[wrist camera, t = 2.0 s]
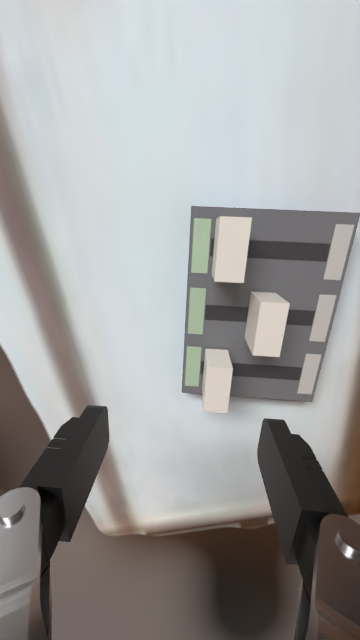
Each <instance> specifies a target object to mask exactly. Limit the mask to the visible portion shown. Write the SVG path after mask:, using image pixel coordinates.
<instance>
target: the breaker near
mask: <svg viewBox="0 0 360 640" xmlns="http://www.w3.org/2000/svg"><path fill="white" fill-rule="evenodd" d="M251 222H252V217H228V216H220V217H218V218H217V219H216V226H215V238H214V250H213V262H212V277H213V279H214V282H232V283H244V277H245V270H246V262H247V254H248V246H249V238H250V230H251Z"/></svg>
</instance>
